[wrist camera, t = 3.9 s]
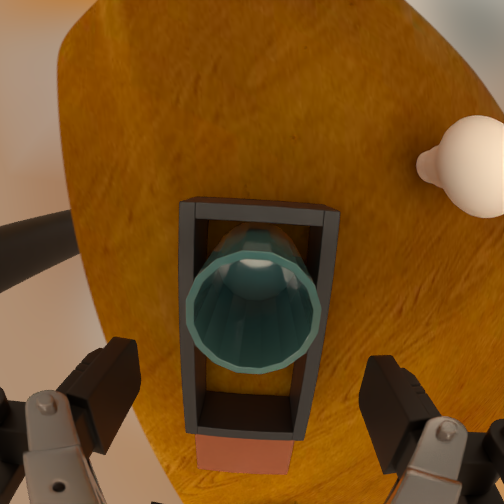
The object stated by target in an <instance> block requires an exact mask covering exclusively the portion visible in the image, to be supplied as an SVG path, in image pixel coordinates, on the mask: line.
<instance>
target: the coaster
mask: <svg viewBox="0 0 504 504" xmlns="http://www.w3.org/2000/svg"><path fill="white" fill-rule="evenodd" d="M195 439H196V453H197V465H198V469H206V470H214V471H224V472H236V473H252V474H287V471H288V467H289V463H290V458H291V454H292V449H293V444H294V441H293V440H291V441H287V440H256V439H240V438H227V437H217V436H207V435H199V434H195Z"/></svg>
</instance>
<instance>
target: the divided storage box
mask: <svg viewBox="0 0 504 504" xmlns="http://www.w3.org/2000/svg"><path fill="white" fill-rule="evenodd" d="M208 219H211V220H229V221H246V222H262V223H278V224H292V225H306V226H310V232H309V243H308V253H307V263H306V268H307V270H308V272H309V274H310V276H311V278H312V280H313V282H314V284H315V287H316V290H317V294H318V297H319V301H320V304H321V307H322V308H321V309H322V311H321V318H320V325H319V331H318V334H317V336H316V337H315V339H314V340H313V342H312V344H311V345H310V347H309V348H308V350H307V351H306V353H305V354H304V355H302V356H301V357H300V358H298V359H297V360H295V362H294V369H293V376H292V383H291V389H290V396H264V395H247V394H233V393H221V392H211V391H206V355H205V354H204V353H203V352H202V351H201V350H200V349H199V348H198V347H197V346H196V345H195V343H194V340H193V338H192V336H191V334H190V332H189V330H188V327H187V325H186V298H187V296H188V293H189V291H190V289H191V287H192V284H193V282H194V280H195V278H196V276H197V275H198V273H199V272H200V270H201V268H202V267H203V265H204V264H205V262H206V261H207V231H208ZM339 221H340V211H337V210H335V209H333V208H331V207H328V206H326V205H322V204H310V203H298V202H284V201H270V200H254V199H236V198H217V197H193V198H190V199H187V200H183V201H180V202H179V250H178V281H179V329H180V355H181V374H182V390H183V404H184V417H185V429H186V433H191V434H199V435H207V436H217V437H227V438H240V439H256V440H287V441H291V440H293V441H302V440H304V437H305V433H306V428H307V424H308V419H309V415H310V410H311V405H312V401H313V396H314V391H315V386H316V381H317V375H318V370H319V365H320V359H321V354H322V348H323V342H324V336H325V330H326V324H327V317H328V311H329V304H330V297H331V290H332V282H333V274H334V266H335V258H336V250H337V241H338V231H339Z"/></svg>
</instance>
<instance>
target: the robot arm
mask: <svg viewBox="0 0 504 504" xmlns="http://www.w3.org/2000/svg"><path fill="white" fill-rule="evenodd" d="M140 385H141V374H140V366H139V358H138V350H137V343H136V341H135V340H133V339H126V338H120V337H113V338H112V339H111V340H110V342H109V343H108V344H107V345H106V346H105V347H104V348H98V349H96V350H95V351H93V352H91V353H89V354H88V355H87V356H86V357H85V358H84V359H83V360H82V362H81V363H80V364H79V365H78V366H77V367H76V369H75V370H73V371H72V372H71V374H70V375H69V376H68V377H67V378H66V379H65V380H64V382H63V383H62V384H61V385H60V386H59V387H58V388H57V389H56V391H54V390H45V391H40V392H37V393H35V394H33V395H32V396H31V397H29V398H28V400H27V402H19V401H9V400H7V398H6V396H5V393H4V391H3V389H2V388H1V387H0V504H9V503H10V501H11V499H12V497H13V496H14V494H15V492H16V490H17V488H18V487H19V485H20V483H21V482H22V480H23V478H24V477H25V476H26V483H27V489H28V494H29V500H30V504H107V503H106V500H105V498H104V496H103V493H102V491H101V488H100V486H99V483H98V481H97V478H96V475H95V473H94V470H93V467H92V465H91V462H90V459H89V457H90V455H91V454H92V452H97V453H100V454H103V455H106V453H107V451H108V449H109V447H110V445H111V443H112V441H113V439H114V437H115V436H116V434H117V432H118V430H119V428H120V426H121V424H122V422H123V421H124V419H125V417H126V415H127V413H128V411H129V409H130V408H131V406H132V404H133V402H134V400H135V398H136V397H137V395H138V393H139V390H140ZM420 385H421V384H420V383H419V381H418V380H417V378H416V377H415V375H413V374H412V373H410V372H409V371H408V370H406V369H405V368H400V367H399V365H398V364H397V362H396V361H395V359H394V358H393V356H392V355H375V356H370V357H369V359H368V362H367V365H366V369H365V373H364V377H363V381H362V384H361V388H360V392H359V408H360V410H361V413H362V416H363V419H364V421H365V424H366V427H367V429H368V432H369V435H370V438H371V440H372V443H373V446H374V449H375V452H376V455H377V457H378V460H379V463H380V466H381V469H382V472H383V475H384V474H390V473H397V476H398V478H397V480H396V482H395V484H394V485H393V487H392V489H391V491H390V493H389V495H388V496H387V498H386V500H385V502H384V504H504V501H503V499H502V497H501V495H500V493H499V491H498V489H497V487H496V485H495V483H496V482H497V481H498V479H499V478H501V480H502V482H503V483H504V419H499V420H496V421H494V422H493V423H492V424H491V426H490V428H489V429H488V431H487V433H479V432H467V430H466V428H465V426H464V425H463V424H462V423H461V422H459V421H458V420H456V419H454V418H451V417H446V416H441V414H440V413H439V411H438V410H437V408H436V407H435V405H434V404H433V402H432V401H431V399H430V398H429V396H428V395H427V393H426V394H425V390H424V389H423V387H422V386H420ZM151 504H162V503H156V502H151Z"/></svg>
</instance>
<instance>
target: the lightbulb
mask: <svg viewBox="0 0 504 504" xmlns="http://www.w3.org/2000/svg"><path fill="white" fill-rule="evenodd" d="M416 169H417V172H418V175H419V176H420V178H421V179H422V180H424V181H425V182H428V183H432V184H434V185H436V186H438V187H440V188H443V189H444V191H445V193H446V194H447V196H448V197H449V198H450V200H451V201H452V202H453V203H454V204H455V205H456V206H457V207H458V208H460V209H461V210H463V211H464V212H466V213H468V214H470V215H473V216H476V217H480V218H492V217H497V216H500V215H503V214H504V124H503V123H502V122H500V121H497V120H495V119H493V118H490V117H486V116H479V115H476V116H469V117H465V118H463V119H460V120H458V121H457V122H456V123H455V124H453V125H452V126H451V127H449V129H448V130H447V131H446V132H445V134H444V136H443V138H442V140H441V142H440V144H439V145H438V146H435V147H433V148H432V149H431V150H429V151H426V152H423V153H422V154H420V155H419V157H418V159H417V162H416Z"/></svg>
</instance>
